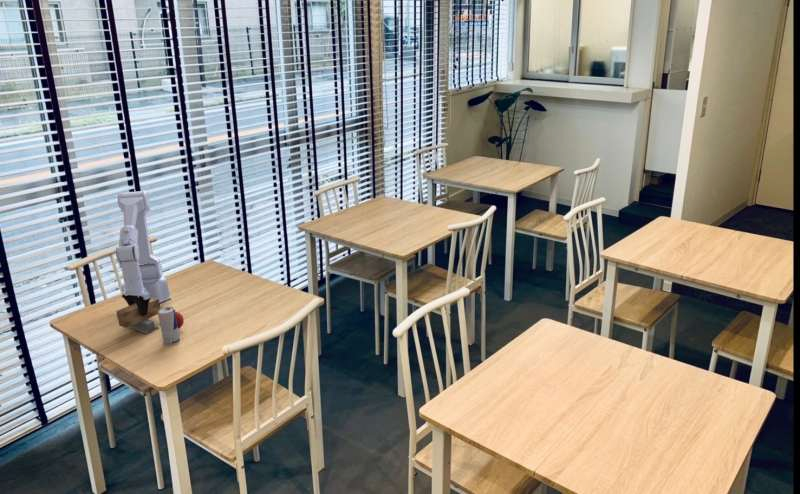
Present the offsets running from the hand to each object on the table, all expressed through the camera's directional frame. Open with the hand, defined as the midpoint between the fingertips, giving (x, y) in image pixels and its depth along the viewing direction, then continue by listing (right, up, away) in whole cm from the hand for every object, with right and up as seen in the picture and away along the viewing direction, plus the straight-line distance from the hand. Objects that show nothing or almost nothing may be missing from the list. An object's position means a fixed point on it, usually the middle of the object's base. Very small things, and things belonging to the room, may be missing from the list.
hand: (139, 313), depth 224 cm
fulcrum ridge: (0, -5, +2) cm, 5 cm away
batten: (0, -2, +1) cm, 2 cm away
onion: (+14, -6, -2) cm, 15 cm away
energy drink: (+15, -9, -10) cm, 20 cm away
